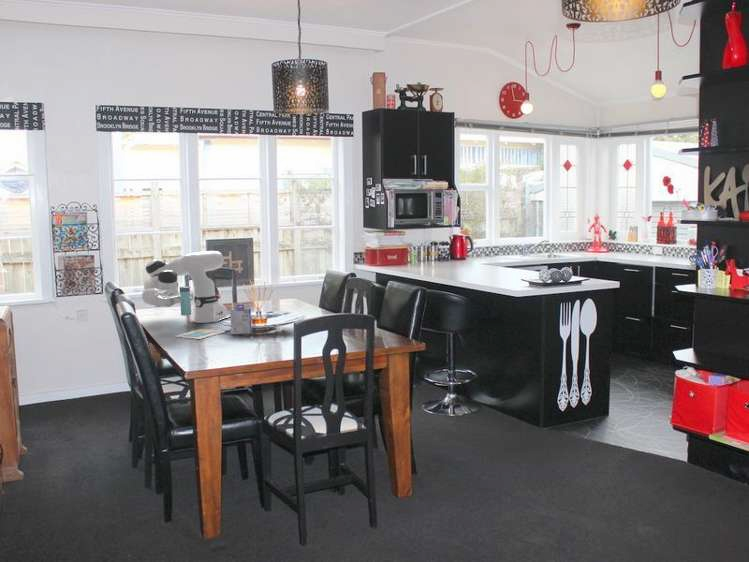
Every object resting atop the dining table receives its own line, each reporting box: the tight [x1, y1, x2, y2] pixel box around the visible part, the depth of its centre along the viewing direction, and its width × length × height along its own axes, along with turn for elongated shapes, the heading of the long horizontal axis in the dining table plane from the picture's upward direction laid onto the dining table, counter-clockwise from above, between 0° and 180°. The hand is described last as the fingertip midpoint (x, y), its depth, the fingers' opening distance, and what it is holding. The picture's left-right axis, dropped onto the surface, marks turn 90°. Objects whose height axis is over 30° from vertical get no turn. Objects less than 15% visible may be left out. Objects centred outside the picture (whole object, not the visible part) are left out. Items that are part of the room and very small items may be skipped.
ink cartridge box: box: [229, 304, 253, 335], centre depth 370 cm, size 10×6×14 cm, turn 90°
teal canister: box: [179, 285, 192, 316], centre depth 367 cm, size 5×5×14 cm
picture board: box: [174, 328, 226, 340], centre depth 370 cm, size 19×17×1 cm
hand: (186, 299), depth 366 cm, fingers closed on teal canister, 5 cm apart
